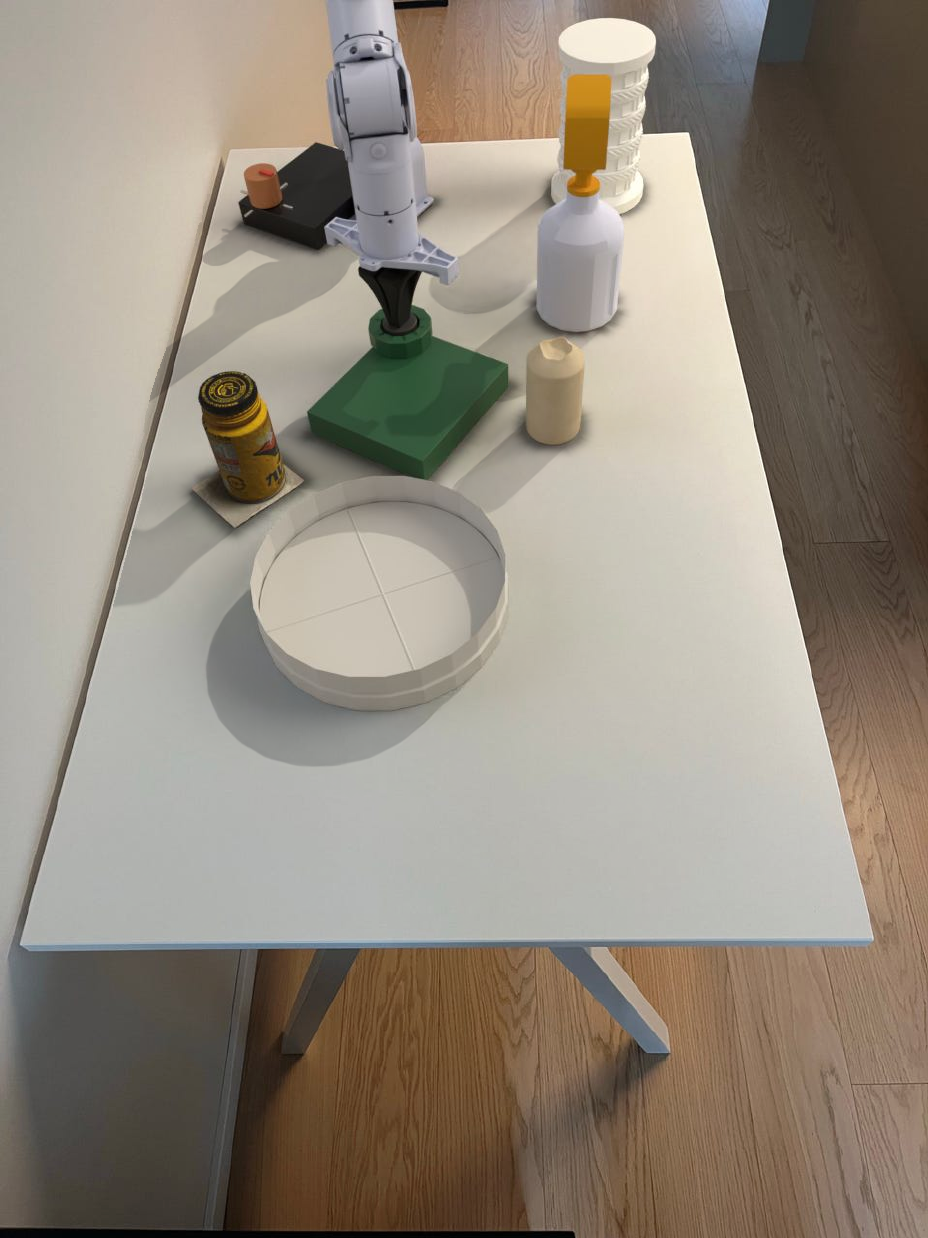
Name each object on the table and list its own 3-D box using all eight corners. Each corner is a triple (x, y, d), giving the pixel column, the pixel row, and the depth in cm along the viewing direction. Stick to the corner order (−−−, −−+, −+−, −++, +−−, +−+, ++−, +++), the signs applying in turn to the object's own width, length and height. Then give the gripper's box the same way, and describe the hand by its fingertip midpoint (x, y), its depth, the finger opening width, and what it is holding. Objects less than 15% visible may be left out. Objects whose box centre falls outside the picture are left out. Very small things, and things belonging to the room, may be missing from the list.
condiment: (304, 481, 94) (279, 387, 84) (235, 529, 91) (200, 436, 81) (260, 445, 97) (231, 350, 87) (192, 490, 94) (153, 396, 84)
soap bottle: (616, 284, 110) (638, 58, 90) (616, 335, 104) (638, 107, 84) (538, 282, 110) (542, 58, 90) (534, 333, 105) (537, 107, 85)
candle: (516, 435, 96) (516, 355, 88) (539, 401, 99) (541, 321, 91) (566, 452, 94) (571, 372, 86) (588, 417, 97) (595, 336, 89)
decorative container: (634, 163, 124) (649, 12, 109) (649, 213, 117) (668, 59, 103) (545, 170, 124) (549, 20, 109) (556, 221, 117) (561, 68, 103)
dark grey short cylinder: (397, 322, 102) (395, 306, 101) (424, 332, 101) (423, 316, 99) (377, 341, 101) (375, 325, 99) (405, 351, 99) (404, 335, 98)
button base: (396, 335, 106) (392, 297, 102) (514, 379, 101) (514, 341, 97) (302, 429, 98) (292, 392, 94) (425, 483, 93) (420, 445, 89)
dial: (243, 203, 118) (236, 173, 114) (264, 187, 120) (257, 157, 116) (268, 212, 116) (261, 181, 113) (289, 195, 118) (282, 165, 115)
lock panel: (313, 161, 128) (309, 138, 126) (392, 186, 124) (389, 162, 121) (226, 230, 120) (219, 206, 117) (307, 259, 115) (303, 235, 113)
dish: (236, 551, 89) (222, 516, 85) (457, 483, 93) (454, 446, 88) (296, 748, 76) (284, 718, 72) (549, 660, 80) (550, 626, 76)
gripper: (296, 199, 89) (321, 321, 100) (425, 242, 84) (436, 365, 95) (341, 163, 92) (360, 285, 103) (467, 202, 87) (473, 325, 98)
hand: (399, 321), depth 99 cm, fingers closed, pressing on dark grey short cylinder
